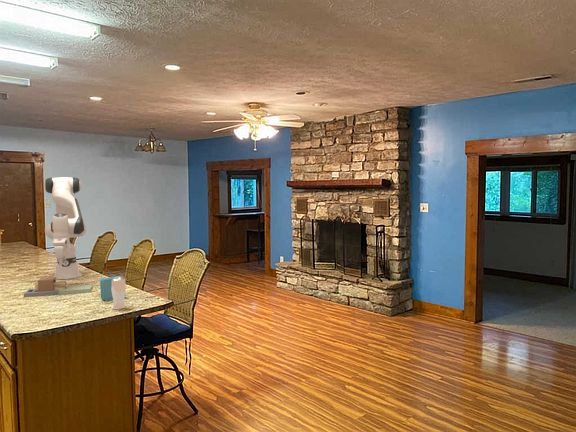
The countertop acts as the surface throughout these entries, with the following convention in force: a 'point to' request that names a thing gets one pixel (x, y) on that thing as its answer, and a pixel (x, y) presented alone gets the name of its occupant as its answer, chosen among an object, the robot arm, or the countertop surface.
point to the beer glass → (118, 292)
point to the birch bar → (55, 285)
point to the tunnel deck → (48, 289)
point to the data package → (107, 288)
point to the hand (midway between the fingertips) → (62, 263)
